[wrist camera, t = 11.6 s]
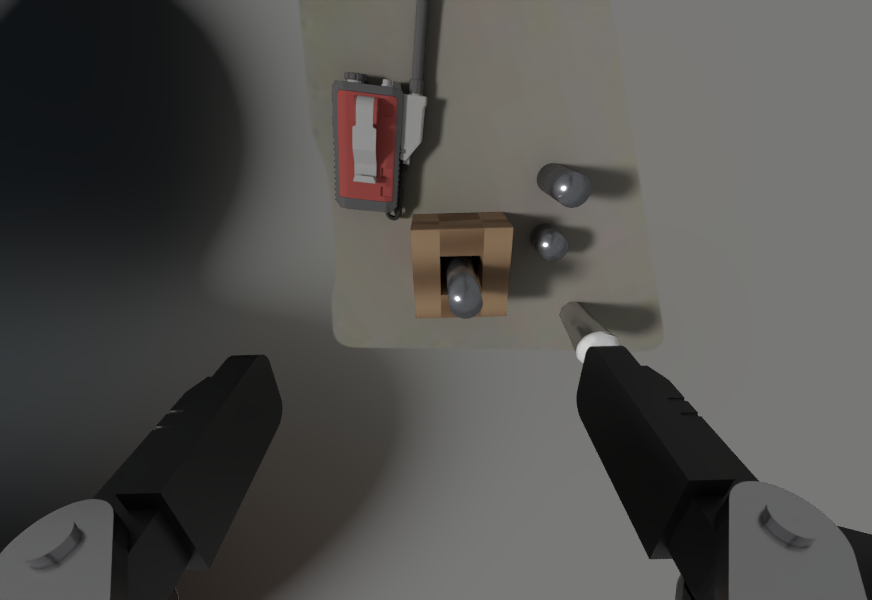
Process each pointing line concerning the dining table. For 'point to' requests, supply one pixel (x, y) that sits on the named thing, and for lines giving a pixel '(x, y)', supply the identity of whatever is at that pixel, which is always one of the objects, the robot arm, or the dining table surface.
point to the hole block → (461, 238)
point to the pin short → (549, 242)
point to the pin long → (462, 287)
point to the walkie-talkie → (378, 132)
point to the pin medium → (564, 185)
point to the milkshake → (584, 329)
